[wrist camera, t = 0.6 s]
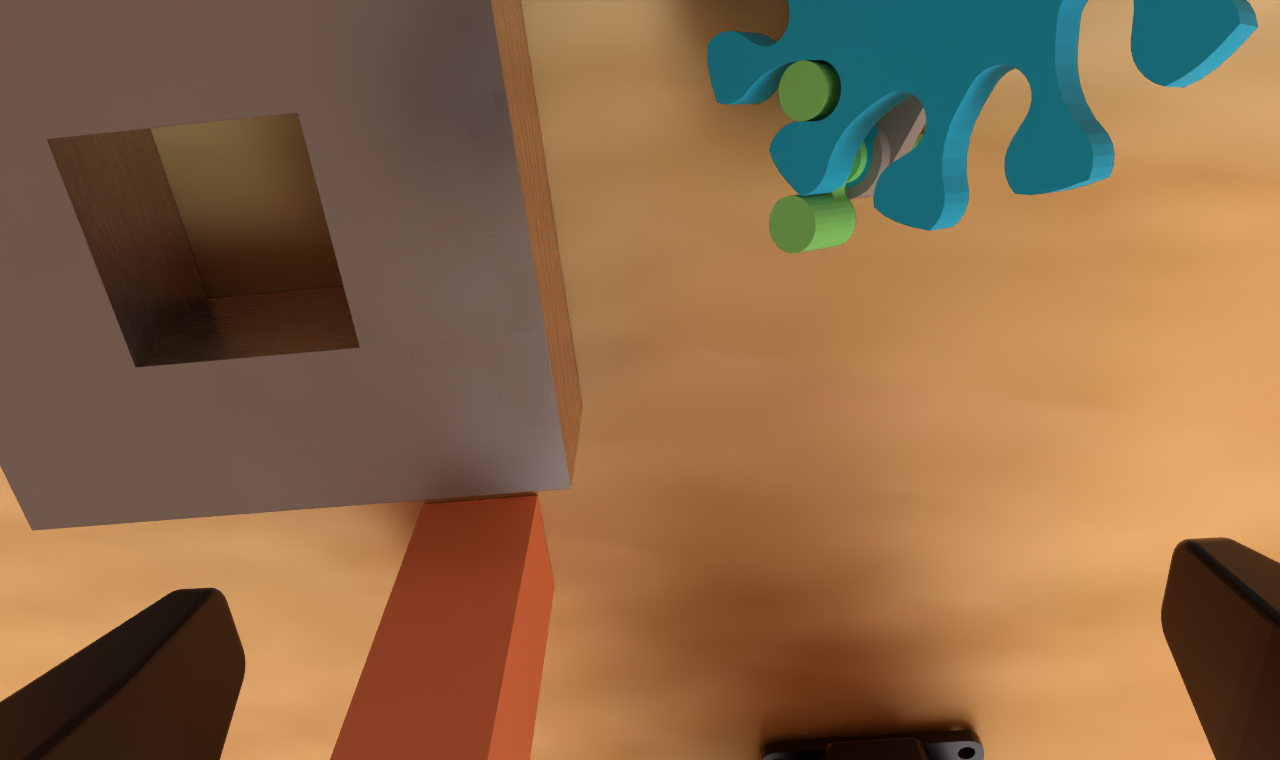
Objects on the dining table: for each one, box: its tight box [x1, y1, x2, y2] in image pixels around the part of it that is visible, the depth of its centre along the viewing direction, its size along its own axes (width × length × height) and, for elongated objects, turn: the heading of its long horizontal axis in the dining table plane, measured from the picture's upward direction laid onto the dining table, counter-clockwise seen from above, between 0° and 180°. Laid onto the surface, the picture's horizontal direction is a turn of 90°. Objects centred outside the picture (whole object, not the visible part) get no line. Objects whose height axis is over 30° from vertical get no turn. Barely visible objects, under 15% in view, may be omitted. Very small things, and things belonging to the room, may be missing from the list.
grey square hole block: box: [0, 0, 582, 530], centre depth 20 cm, size 12×12×4 cm
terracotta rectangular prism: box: [330, 495, 554, 760], centre depth 22 cm, size 3×3×9 cm
